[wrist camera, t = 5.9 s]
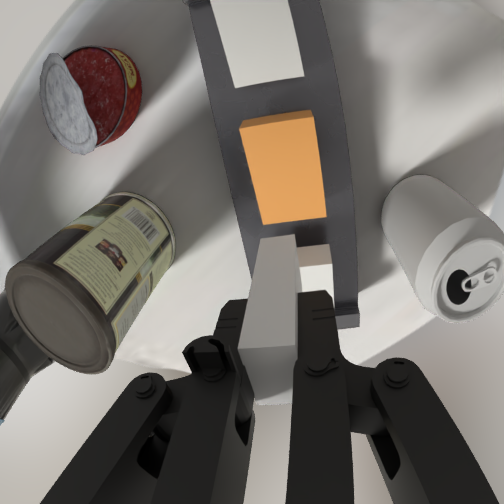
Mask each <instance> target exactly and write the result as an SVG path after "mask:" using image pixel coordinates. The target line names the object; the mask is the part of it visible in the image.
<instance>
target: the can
mask: <svg viewBox="0 0 504 504" xmlns="http://www.w3.org/2000/svg"><path fill="white" fill-rule="evenodd" d="M381 224H382V228H383V231H384V235H385V236H386V238H387V240H388V242H389V243H390V245H391V247H392V249H393V251H394V253H395V255H396V256H397V258H398V260H399V262H400V264H401V266H402V268H403V270H404V272H405V274H406V276H407V278H408V280H409V282H410V284H411V286H412V288H413V290H414V292H415V294H416V296H417V298H418V300H419V301H420V303H421V304H422V306H423V307H424V309H426V310H427V311H429V312H431V313H432V314H434V315H438V317H440V318H442V319H443V320H444V321H446V322H451V323H463V322H469V321H471V320H474V319H475V318H478V317H480V316H482V315H483V314H484V313H486V312H487V311H488V310H490V309H491V308H492V307H493V306H494V305H495V303H496V302H497V301H498V300H499V299H500V298H501V296H502V294H503V292H504V233H503V231H502V230H501V229H500V228H499V227H498V226H497V224H496V223H495V222H494V221H492V220H491V219H490V218H489V217H488V216H486V215H485V214H484V213H483V212H481V211H480V210H479V209H478V208H476V207H475V206H474V205H473V204H471V203H470V202H469V201H467V200H466V199H465V198H463V197H462V196H461V195H460V194H458V193H457V192H455V191H454V190H453V189H451V188H450V187H449V186H447V185H446V184H444V183H443V182H442V181H440V180H439V179H437V178H434V177H431V176H429V175H414V176H411V177H409V178H406V179H403V180H402V181H401V182H400V183H398V184H397V185H396V186H395V187H393V189H392V190H391V192H390V193H389V194H388V196H387V197H386V199H385V202H384V205H383V208H382V214H381Z"/></svg>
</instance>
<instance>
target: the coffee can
mask: <svg viewBox="0 0 504 504" xmlns="http://www.w3.org/2000/svg"><path fill="white" fill-rule="evenodd" d="M174 256H175V237H174V233H173V230H172V227H171V225H170V223H169V221H168V220H167V218H166V217H165V215H164V214H163V213H162V211H161V210H160V209H159V208H158V207H157V206H156V205H155V204H153V203H152V202H151V201H149V200H148V199H146V198H144V197H142V196H140V195H138V194H133V193H129V192H119V193H114V194H111V195H109V196H107V197H105V198H104V199H103V200H102V201H101V202H100V203H98V204H97V205H95V206H94V207H92V208H91V209H89V210H88V211H87V212H85V213H84V214H82V215H81V216H80V217H78V218H77V219H76V220H74V221H73V222H72V223H70V224H69V225H68V226H66V227H65V228H63V229H62V230H61V231H59V232H58V233H57V234H55V235H54V236H53V237H52V238H50V239H49V240H48V241H46V242H45V243H44V244H43V245H41V246H40V247H39V248H37V249H36V250H35V251H34V252H33V253H32V254H30V255H29V256H28V257H27V258H25V259H24V260H23V261H20V262H18V263H17V264H16V265H14V266H13V267H12V268H11V269H10V270H9V272H8V274H7V276H6V281H5V289H6V295H7V299H8V303H9V306H10V308H11V310H12V313H13V315H14V317H15V318H16V320H17V322H18V323H19V325H20V326H21V328H22V329H23V331H24V332H25V333H26V335H27V336H28V337H29V338H30V339H31V340H32V342H33V343H34V344H35V345H36V346H37V347H38V348H39V349H41V350H42V351H43V352H44V353H45V354H46V355H48V356H49V357H50V358H52V359H53V360H55V361H56V362H58V363H59V364H61V365H63V366H65V367H67V368H69V369H71V370H74V371H76V372H80V373H84V374H99V373H102V372H104V371H106V369H108V368H109V366H110V364H111V362H112V360H113V358H114V355H115V352H116V350H117V349H118V347H119V345H120V344H121V342H122V340H123V338H124V337H125V335H126V334H127V332H128V330H129V329H130V327H131V325H132V324H133V322H134V320H135V319H136V317H137V316H138V314H139V312H140V311H141V309H142V307H143V306H144V304H145V303H146V301H147V300H148V298H149V296H150V295H151V293H152V292H153V290H154V289H155V287H156V286H157V284H158V282H159V281H160V279H161V278H162V276H163V275H164V273H165V272H166V271H167V270H168V269H169V267H170V266H171V264H172V262H173V259H174Z"/></svg>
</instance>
